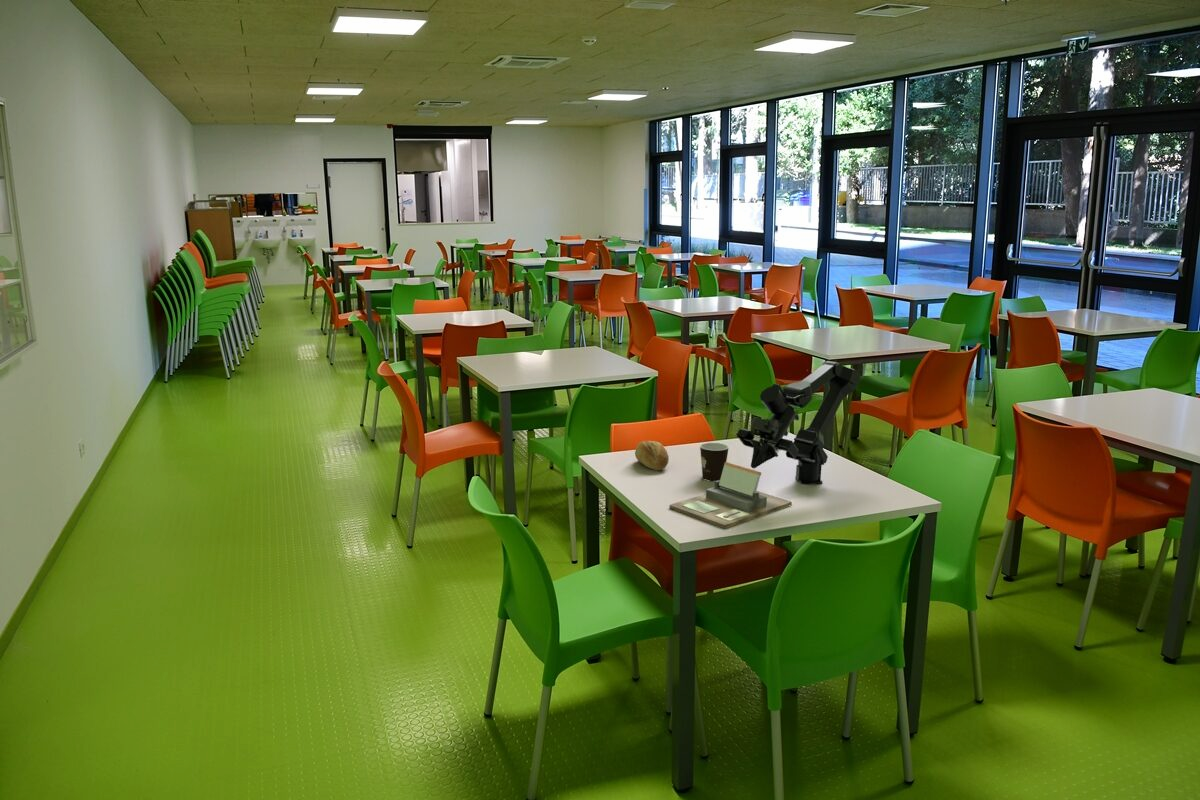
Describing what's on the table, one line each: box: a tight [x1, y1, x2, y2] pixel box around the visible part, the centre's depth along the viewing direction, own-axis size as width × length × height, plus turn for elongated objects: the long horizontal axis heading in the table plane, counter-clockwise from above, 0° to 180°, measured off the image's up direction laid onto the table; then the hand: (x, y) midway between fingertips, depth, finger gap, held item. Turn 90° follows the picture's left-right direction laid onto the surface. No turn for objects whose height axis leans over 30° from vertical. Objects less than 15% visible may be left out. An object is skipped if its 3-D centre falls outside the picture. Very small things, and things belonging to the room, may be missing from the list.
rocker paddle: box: [718, 461, 762, 498], centre depth 240 cm, size 1×13×7 cm, turn 41°
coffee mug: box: [699, 442, 729, 482], centre depth 265 cm, size 12×9×10 cm
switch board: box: [668, 480, 793, 529], centre depth 239 cm, size 28×20×5 cm
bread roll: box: [634, 440, 670, 471], centre depth 276 cm, size 10×15×8 cm, turn 21°
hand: (752, 467), depth 243 cm, fingers closed
